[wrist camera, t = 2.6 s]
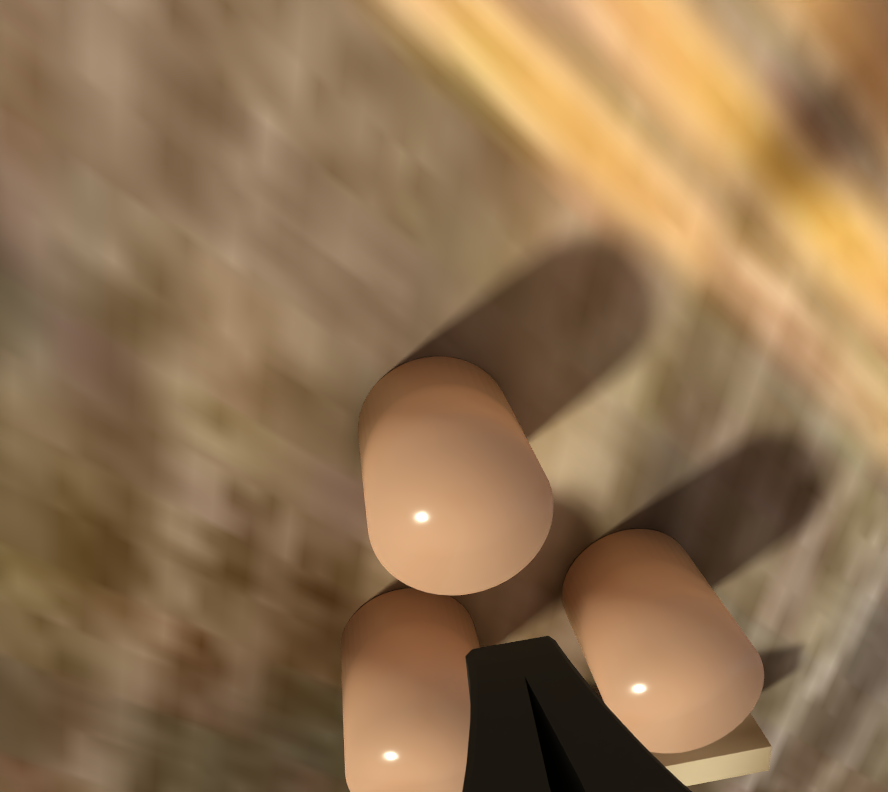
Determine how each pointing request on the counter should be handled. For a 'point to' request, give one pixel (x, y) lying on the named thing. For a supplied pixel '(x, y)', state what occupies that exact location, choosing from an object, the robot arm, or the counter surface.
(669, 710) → the rounded peach pegs
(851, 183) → the counter surface
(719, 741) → the light wooden open frame
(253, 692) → the counter surface
